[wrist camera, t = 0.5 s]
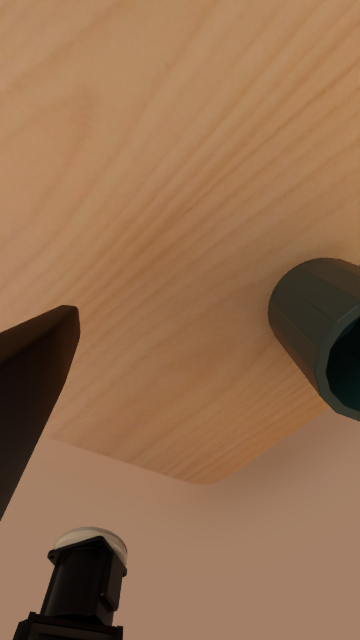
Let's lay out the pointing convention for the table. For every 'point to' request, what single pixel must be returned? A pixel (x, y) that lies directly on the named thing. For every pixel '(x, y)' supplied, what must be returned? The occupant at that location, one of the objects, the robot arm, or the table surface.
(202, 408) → the table surface
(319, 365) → the tin
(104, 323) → the table surface
